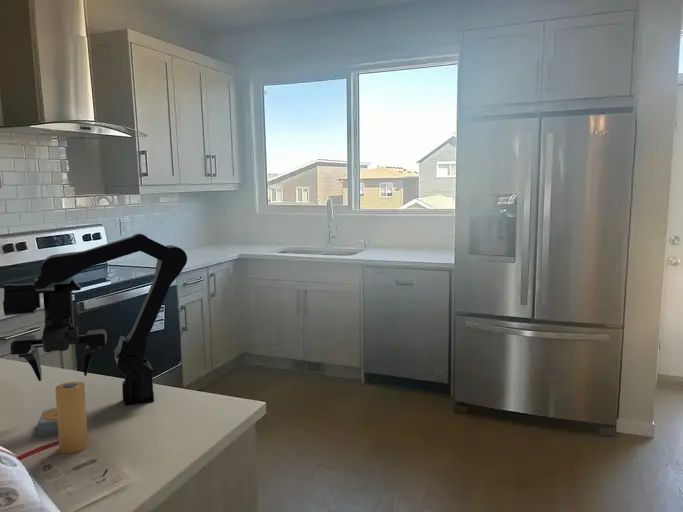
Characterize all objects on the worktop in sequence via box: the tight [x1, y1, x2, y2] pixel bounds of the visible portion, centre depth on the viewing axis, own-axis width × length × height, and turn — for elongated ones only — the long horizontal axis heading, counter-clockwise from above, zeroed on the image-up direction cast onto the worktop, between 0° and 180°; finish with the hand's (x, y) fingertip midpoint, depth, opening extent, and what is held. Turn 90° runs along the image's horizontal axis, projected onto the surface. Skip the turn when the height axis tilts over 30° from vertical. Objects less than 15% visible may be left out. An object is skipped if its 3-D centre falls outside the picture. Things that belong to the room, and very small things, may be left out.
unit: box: [36, 406, 58, 438], centre depth 112 cm, size 8×8×3 cm
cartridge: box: [54, 381, 89, 455], centre depth 102 cm, size 5×5×13 cm
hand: (63, 378), depth 119 cm, fingers open, 9 cm apart
